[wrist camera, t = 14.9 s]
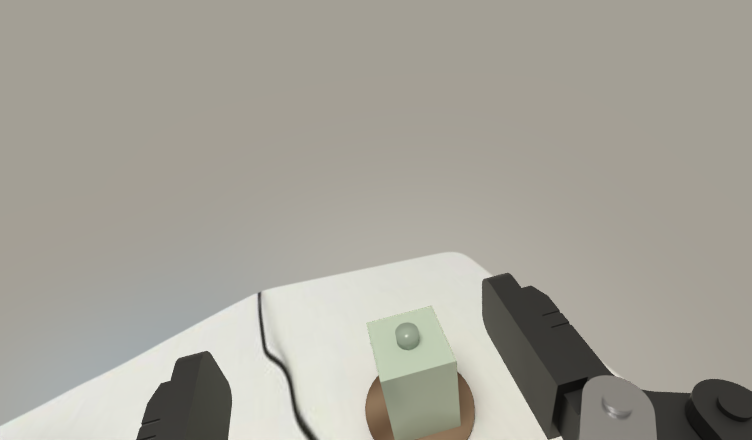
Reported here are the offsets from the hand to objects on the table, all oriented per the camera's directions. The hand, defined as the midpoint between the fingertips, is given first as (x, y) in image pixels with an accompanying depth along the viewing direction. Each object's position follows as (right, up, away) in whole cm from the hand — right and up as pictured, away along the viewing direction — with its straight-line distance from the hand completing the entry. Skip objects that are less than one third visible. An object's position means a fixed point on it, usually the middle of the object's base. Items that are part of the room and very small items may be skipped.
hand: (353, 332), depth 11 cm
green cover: (+5, -15, +29) cm, 33 cm away
